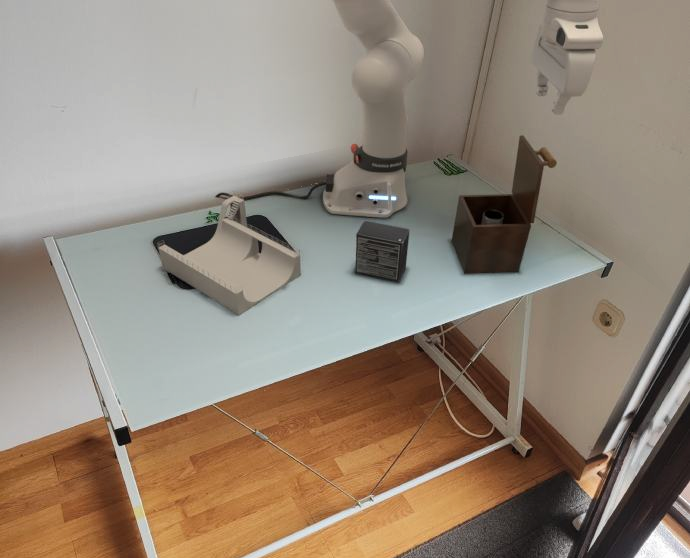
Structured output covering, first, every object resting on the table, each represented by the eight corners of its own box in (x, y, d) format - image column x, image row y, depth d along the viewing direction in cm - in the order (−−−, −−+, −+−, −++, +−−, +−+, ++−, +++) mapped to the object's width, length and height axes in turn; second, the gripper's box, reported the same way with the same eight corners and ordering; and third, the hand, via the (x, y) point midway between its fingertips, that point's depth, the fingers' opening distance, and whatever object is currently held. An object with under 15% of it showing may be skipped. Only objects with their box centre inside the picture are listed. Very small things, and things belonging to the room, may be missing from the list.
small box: (407, 267, 132) (411, 227, 125) (399, 284, 128) (403, 243, 121) (362, 258, 135) (364, 218, 128) (353, 274, 130) (355, 233, 123)
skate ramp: (163, 268, 131) (153, 229, 124) (238, 227, 144) (233, 190, 137) (239, 315, 119) (233, 275, 112) (313, 266, 132) (312, 228, 125)
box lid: (540, 164, 114) (565, 161, 114) (519, 135, 124) (542, 133, 124) (530, 223, 123) (553, 221, 123) (511, 192, 133) (533, 190, 133)
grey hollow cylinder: (490, 260, 134) (499, 221, 127) (472, 254, 135) (480, 215, 128) (497, 251, 137) (507, 212, 130) (479, 245, 138) (487, 207, 131)
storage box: (464, 274, 131) (473, 226, 123) (451, 241, 141) (459, 195, 133) (518, 272, 132) (531, 225, 124) (502, 239, 142) (512, 193, 134)
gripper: (532, 10, 111) (517, 85, 120) (571, 41, 96) (550, 124, 105) (564, 9, 111) (546, 84, 121) (608, 41, 96) (584, 124, 106)
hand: (548, 103), depth 113 cm, fingers open, 8 cm apart
